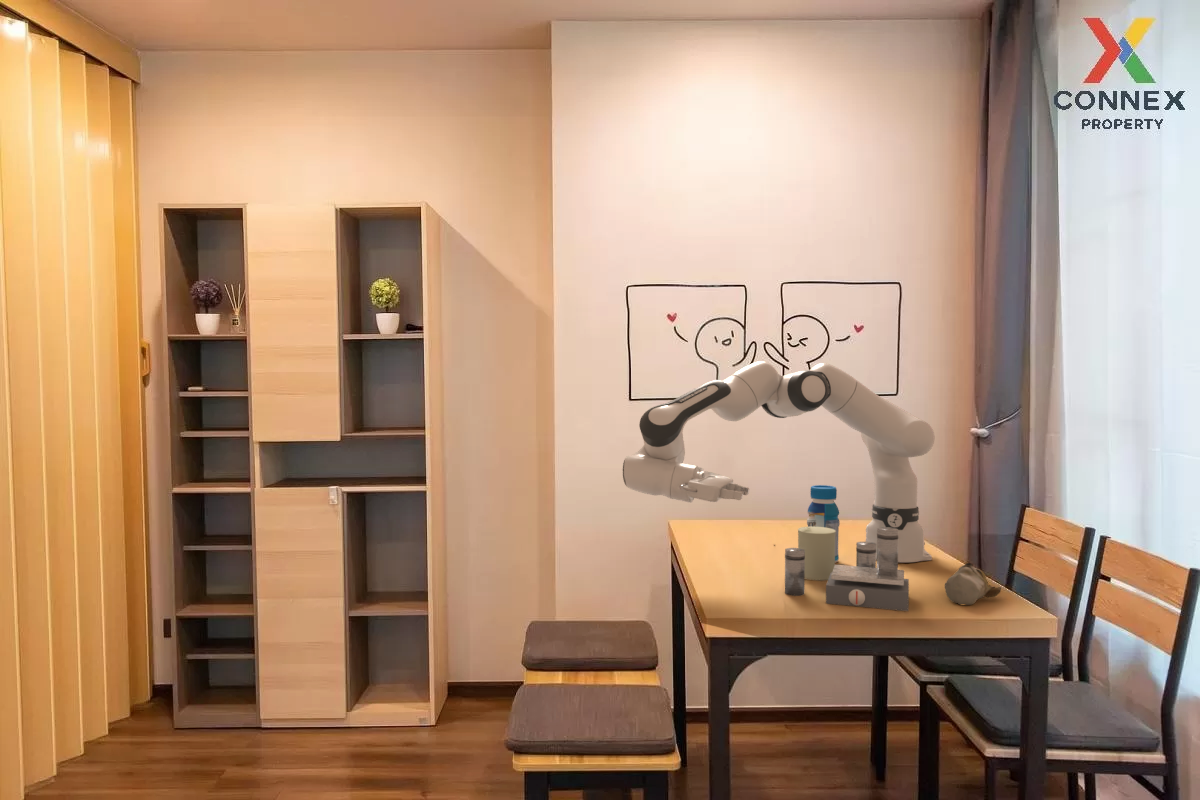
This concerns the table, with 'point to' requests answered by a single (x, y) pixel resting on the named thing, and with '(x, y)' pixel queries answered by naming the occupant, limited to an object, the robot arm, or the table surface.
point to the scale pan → (865, 575)
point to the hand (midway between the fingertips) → (745, 493)
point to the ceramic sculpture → (969, 586)
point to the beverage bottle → (824, 510)
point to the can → (817, 551)
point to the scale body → (868, 594)
